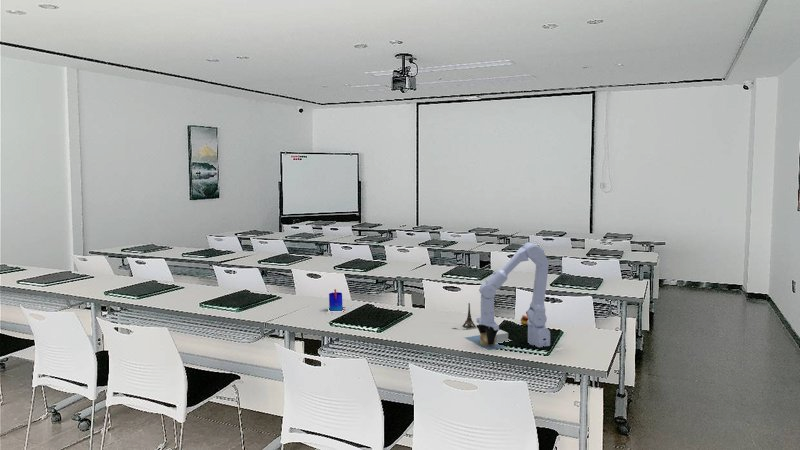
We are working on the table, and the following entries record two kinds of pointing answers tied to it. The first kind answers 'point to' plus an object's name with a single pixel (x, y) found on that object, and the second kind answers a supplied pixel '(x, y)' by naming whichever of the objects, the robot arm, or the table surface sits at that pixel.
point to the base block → (501, 336)
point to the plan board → (477, 341)
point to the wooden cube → (485, 339)
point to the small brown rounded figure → (524, 319)
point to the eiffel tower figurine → (468, 322)
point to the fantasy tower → (335, 301)
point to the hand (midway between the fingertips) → (487, 342)
